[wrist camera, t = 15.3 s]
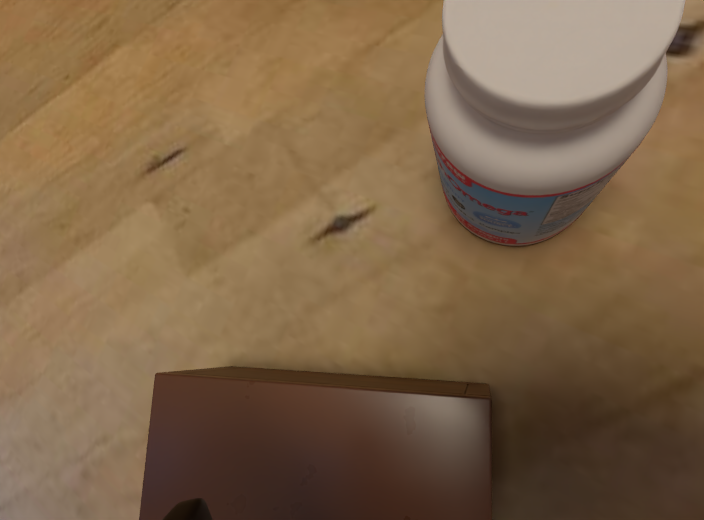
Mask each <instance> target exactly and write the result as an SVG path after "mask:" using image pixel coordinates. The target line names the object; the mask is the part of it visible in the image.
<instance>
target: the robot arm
mask: <svg viewBox="0 0 704 520" xmlns="http://www.w3.org/2000/svg"><path fill="white" fill-rule="evenodd" d="M162 520H213V519H212V516H211V514H210V511H209V508H208V506H207V503H206V502H205V500H204V499H202V498H195V499H191V500H186V501H182V502H179V503H178V504H176V505H175V506H174V507H173V508H172V510H171V511H170V512H169V513H168V514H167V515H166V516H165V517H164V518H163V519H162Z"/></svg>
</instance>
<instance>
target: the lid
mask: <svg viewBox="0 0 704 520" xmlns="http://www.w3.org/2000/svg"><path fill="white" fill-rule="evenodd" d="M195 498H202V499H204V500H205V502H206V503H207V506H208V508H209V511H210V514H211V516H212V519H213V520H492V400H491V397H490V396H480V395H467V394H453V393H440V392H426V391H413V390H399V389H386V388H372V387H359V386H345V385H332V384H318V383H305V382H291V381H278V380H264V379H251V378H237V377H224V376H210V375H197V374H183V373H170V372H162V373H156V374H155V380H154V389H153V399H152V408H151V417H150V426H149V435H148V444H147V453H146V462H145V471H144V480H143V489H142V498H141V508H140V517H139V520H162V519H163V518H164V517H165V516H166V515H167V514H168V513H169V512H170V511H171V510H172V508H173V507H174V506H175V505H176V504H178V503H179V502H182V501H186V500H191V499H195Z"/></svg>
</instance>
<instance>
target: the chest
mask: <svg viewBox="0 0 704 520" xmlns="http://www.w3.org/2000/svg"><path fill="white" fill-rule="evenodd" d="M170 373H183V374H197V375H210V376H224V377H237V378H251V379H264V380H278V381H291V382H305V383H318V384H332V385H345V386H359V387H372V388H386V389H399V390H413V391H426V392H440V393H453V394H467V395H480V396H490V397H491V394H490V388H489V385H488V384H485V383H470V382H455V381H440V380H425V379H411V378H396V377H381V376H366V375H351V374H337V373H322V372H307V371H292V370H277V369H263V368H248V367H233V366H230V367H218V368H207V369H196V370H184V371H173V372H170Z"/></svg>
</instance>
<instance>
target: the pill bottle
mask: <svg viewBox="0 0 704 520" xmlns="http://www.w3.org/2000/svg"><path fill="white" fill-rule="evenodd" d="M684 5H685V0H444V4H443V12H442V27H443V35H442V36H441V38H440V40H439V42H438V44H437V45H436V47H435V49H434V52H433V54H432V57H431V59H430V62H429V66H428V70H427V75H426V82H425V107H426V113H427V118H428V123H429V128H430V133H431V137H432V142H433V146H434V151H435V155H436V160H437V164H438V169H439V173H440V178H441V182H442V187H443V191H444V195H445V198H446V201H447V203H448V205H449V207H450V209H451V211H452V213H453V214H454V216H455V217H456V218H457V219H458V221H459V222H460V223H461V224H462V225H463V226H464V227H465V228H467V229H468V230H469V231H470V232H472V233H473V234H475V235H477V236H478V237H480V238H483V239H485V240H487V241H490V242H493V243H497V244H502V245H509V246H522V245H530V244H534V243H538V242H541V241H544V240H547V239H549V238H551V237H553V236H555V235H557V234H558V233H560V232H561V231H563V230H564V229H566V228H567V227H568V226H569V225H571V224H572V223H573V222H574V221H575V220H576V219H577V218H578V217H579V216H580V215H581V214H582V213H583V212H584V210H585V209H586V208H587V207H588V206H589V204H590V203H591V202H592V201H593V200H594V199H595V197H596V196H597V195H598V194H599V193H600V191H601V190H602V189H603V188H604V187H605V185H606V184H607V183H608V182H609V181H610V179H611V178H612V177H613V176H614V175H615V173H616V172H617V171H618V170H619V169H620V167H621V166H622V165H623V164H624V163H625V161H626V160H627V159H628V158H629V157H630V155H631V154H632V153H633V152H634V151H635V150H636V148H637V147H638V146H639V145H640V143H641V142H642V140H643V139H644V137H645V136H646V135H647V133H648V132H649V130H650V129H651V127H652V125H653V123H654V122H655V120H656V117H657V115H658V113H659V110H660V108H661V105H662V102H663V98H664V95H665V90H666V83H667V59H666V51H667V49H668V48H669V46H670V44H671V43H672V41H673V39H674V37H675V34H676V32H677V30H678V28H679V24H680V21H681V18H682V15H683V10H684Z"/></svg>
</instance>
